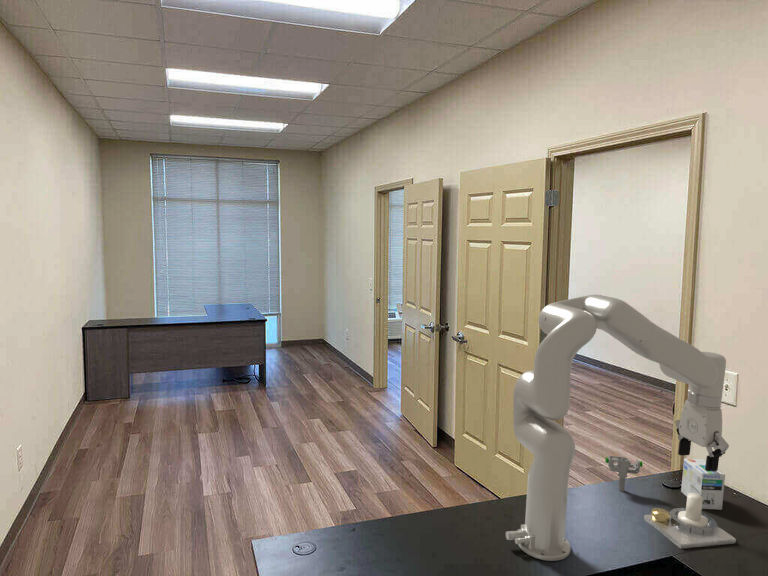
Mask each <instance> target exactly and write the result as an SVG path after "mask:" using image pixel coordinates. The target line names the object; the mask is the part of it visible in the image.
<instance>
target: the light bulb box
mask: <svg viewBox="0 0 768 576" xmlns="http://www.w3.org/2000/svg"><path fill="white" fill-rule="evenodd" d="M705 466H706V458H705V459H702V458H700V459H699V458H683V467H682V469H683V470H682V480H681V488H680V493H682V494H683V495H684V496H685V497H686V498H687V494H688V493H695V494H698V495H700V496H702V497H703V502H702V510H720V511H721V510H723V503H724V502H723V501H724V492H725V480H726V474H725V473H724V472H722V471H721V470H720V469H718V470H717V471H706V470H705Z"/></svg>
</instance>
